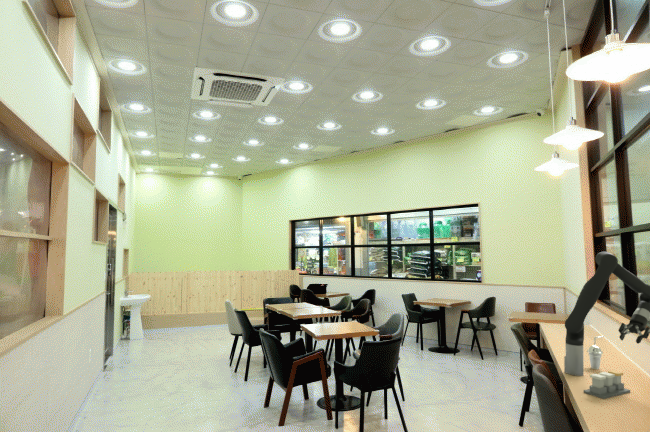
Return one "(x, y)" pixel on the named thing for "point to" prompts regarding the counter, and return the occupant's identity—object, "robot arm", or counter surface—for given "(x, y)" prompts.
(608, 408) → the counter surface
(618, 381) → the amber key
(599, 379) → the front key
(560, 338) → the counter surface
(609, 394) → the keypad
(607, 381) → the middle key
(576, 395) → the counter surface
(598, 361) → the cup with straw
